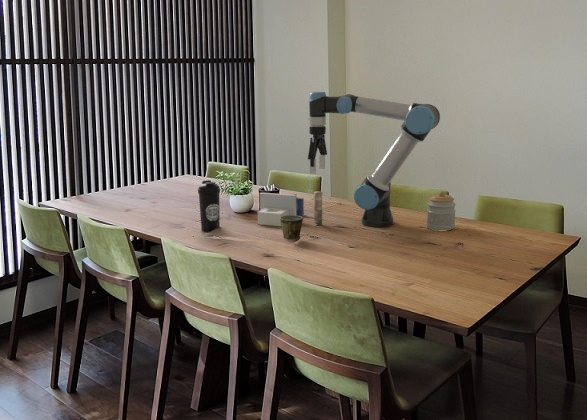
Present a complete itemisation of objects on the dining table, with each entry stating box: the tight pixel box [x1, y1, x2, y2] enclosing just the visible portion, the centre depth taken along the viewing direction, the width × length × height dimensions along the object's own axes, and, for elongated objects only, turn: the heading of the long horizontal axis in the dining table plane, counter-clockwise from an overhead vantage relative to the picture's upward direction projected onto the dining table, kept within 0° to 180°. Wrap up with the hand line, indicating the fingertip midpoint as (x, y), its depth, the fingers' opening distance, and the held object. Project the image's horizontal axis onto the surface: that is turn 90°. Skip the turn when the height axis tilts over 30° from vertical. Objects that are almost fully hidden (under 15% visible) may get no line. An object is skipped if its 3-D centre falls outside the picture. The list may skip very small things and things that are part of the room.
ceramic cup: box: [280, 215, 304, 242], centre depth 308 cm, size 13×10×10 cm
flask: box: [292, 193, 305, 217], centre depth 356 cm, size 9×3×11 cm, turn 61°
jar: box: [425, 190, 457, 231], centre depth 325 cm, size 13×13×18 cm
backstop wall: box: [259, 192, 297, 215], centre depth 331 cm, size 18×23×14 cm
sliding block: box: [257, 208, 289, 227], centre depth 335 cm, size 12×10×6 cm
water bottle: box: [197, 179, 221, 233], centre depth 327 cm, size 10×10×23 cm
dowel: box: [313, 191, 323, 227], centre depth 334 cm, size 4×4×16 cm
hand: (317, 171), depth 330 cm, fingers open, 13 cm apart
